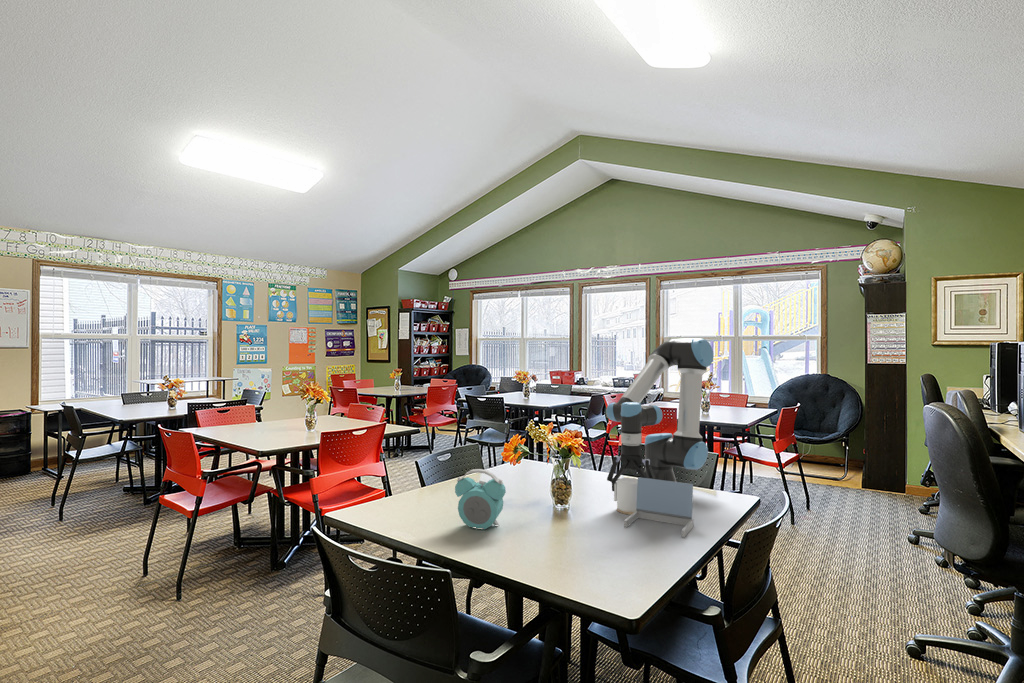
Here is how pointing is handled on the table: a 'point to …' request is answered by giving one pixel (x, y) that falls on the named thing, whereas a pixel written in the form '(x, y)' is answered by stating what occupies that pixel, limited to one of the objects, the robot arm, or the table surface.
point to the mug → (627, 494)
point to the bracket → (661, 520)
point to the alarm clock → (480, 500)
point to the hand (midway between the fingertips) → (631, 502)
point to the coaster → (625, 512)
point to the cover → (665, 498)
